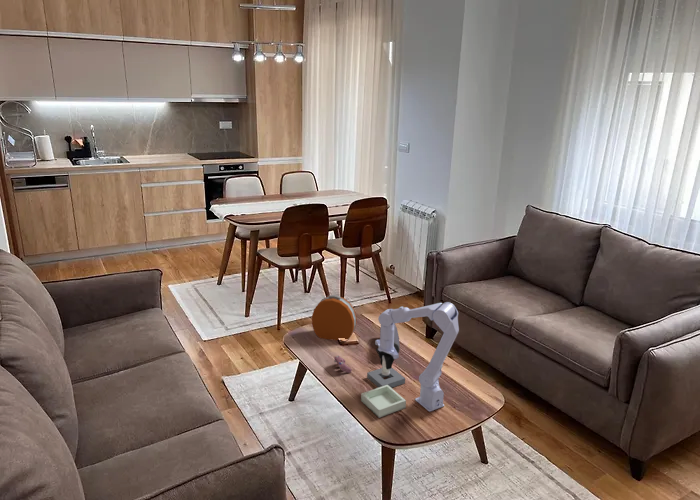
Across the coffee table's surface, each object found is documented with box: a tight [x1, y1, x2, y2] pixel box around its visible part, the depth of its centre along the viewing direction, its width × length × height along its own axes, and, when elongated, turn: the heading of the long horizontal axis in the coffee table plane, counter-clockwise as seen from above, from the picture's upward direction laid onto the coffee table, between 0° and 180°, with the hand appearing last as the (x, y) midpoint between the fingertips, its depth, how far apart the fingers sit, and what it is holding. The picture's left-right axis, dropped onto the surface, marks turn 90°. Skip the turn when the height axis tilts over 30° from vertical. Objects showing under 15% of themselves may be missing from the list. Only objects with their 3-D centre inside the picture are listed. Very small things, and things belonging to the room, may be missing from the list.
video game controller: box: [333, 355, 353, 374], centre depth 228 cm, size 10×5×7 cm, turn 21°
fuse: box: [381, 355, 390, 377], centre depth 212 cm, size 4×4×8 cm
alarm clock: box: [311, 294, 358, 341], centre depth 257 cm, size 22×10×23 cm, turn 74°
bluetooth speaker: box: [379, 323, 401, 354], centre depth 247 cm, size 23×9×10 cm, turn 179°
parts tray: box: [360, 385, 407, 419], centre depth 203 cm, size 13×13×4 cm
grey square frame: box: [366, 366, 406, 389], centre depth 220 cm, size 12×12×2 cm
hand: (386, 366), depth 212 cm, fingers closed on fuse, 3 cm apart
